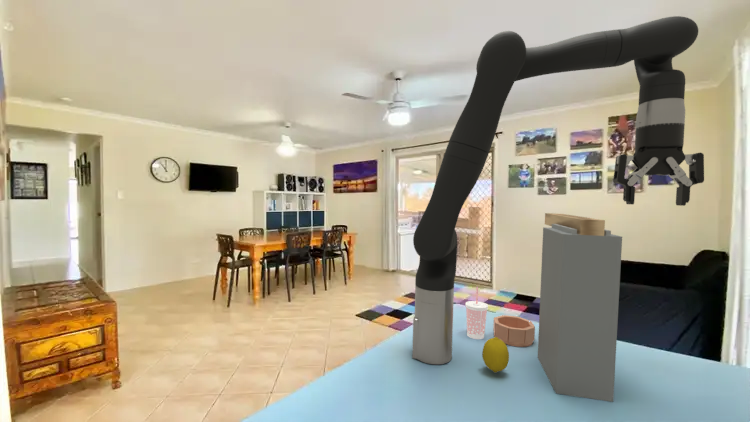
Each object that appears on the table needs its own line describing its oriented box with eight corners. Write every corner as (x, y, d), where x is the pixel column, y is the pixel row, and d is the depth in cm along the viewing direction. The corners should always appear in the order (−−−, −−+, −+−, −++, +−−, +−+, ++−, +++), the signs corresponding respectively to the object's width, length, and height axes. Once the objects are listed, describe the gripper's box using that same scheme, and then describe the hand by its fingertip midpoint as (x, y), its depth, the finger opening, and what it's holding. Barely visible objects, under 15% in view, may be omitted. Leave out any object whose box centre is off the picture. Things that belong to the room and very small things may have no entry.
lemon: (510, 380, 69) (512, 344, 69) (483, 377, 71) (484, 341, 70) (505, 367, 75) (507, 333, 74) (480, 364, 76) (481, 331, 76)
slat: (580, 234, 63) (581, 219, 63) (544, 224, 88) (545, 213, 88) (604, 235, 62) (604, 220, 62) (560, 224, 87) (561, 213, 87)
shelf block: (556, 393, 65) (563, 229, 64) (537, 357, 80) (543, 223, 78) (613, 401, 63) (622, 231, 61) (583, 363, 77) (590, 224, 76)
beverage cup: (480, 330, 95) (482, 283, 95) (491, 340, 89) (493, 289, 89) (460, 331, 94) (462, 283, 94) (469, 341, 88) (471, 290, 88)
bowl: (496, 344, 87) (496, 327, 87) (491, 329, 96) (492, 314, 96) (537, 349, 84) (537, 331, 84) (528, 333, 94) (529, 317, 94)
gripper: (624, 123, 65) (620, 204, 66) (716, 119, 61) (710, 206, 61) (611, 130, 72) (607, 203, 73) (692, 127, 68) (687, 205, 68)
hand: (654, 204), depth 67 cm, fingers open, 8 cm apart
